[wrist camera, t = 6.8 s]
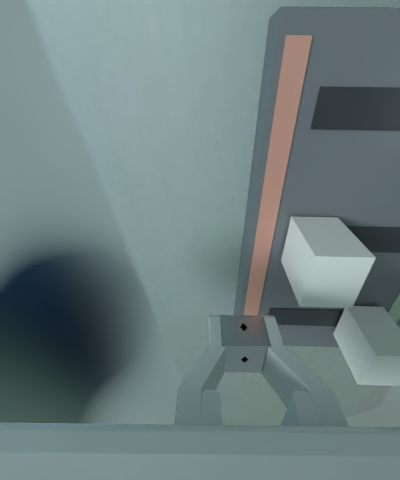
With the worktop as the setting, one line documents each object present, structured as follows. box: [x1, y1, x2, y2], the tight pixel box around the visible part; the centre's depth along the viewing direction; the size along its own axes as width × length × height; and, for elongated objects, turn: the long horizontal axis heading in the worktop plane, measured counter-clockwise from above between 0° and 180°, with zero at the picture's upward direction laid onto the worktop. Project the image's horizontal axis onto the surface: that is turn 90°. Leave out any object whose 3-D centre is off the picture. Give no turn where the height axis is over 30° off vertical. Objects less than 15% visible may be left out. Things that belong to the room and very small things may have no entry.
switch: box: [333, 306, 400, 386], centre depth 20 cm, size 3×4×4 cm
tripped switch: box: [281, 216, 376, 308], centre depth 15 cm, size 3×4×4 cm
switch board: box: [234, 7, 400, 347], centre depth 19 cm, size 14×24×3 cm, turn 179°
